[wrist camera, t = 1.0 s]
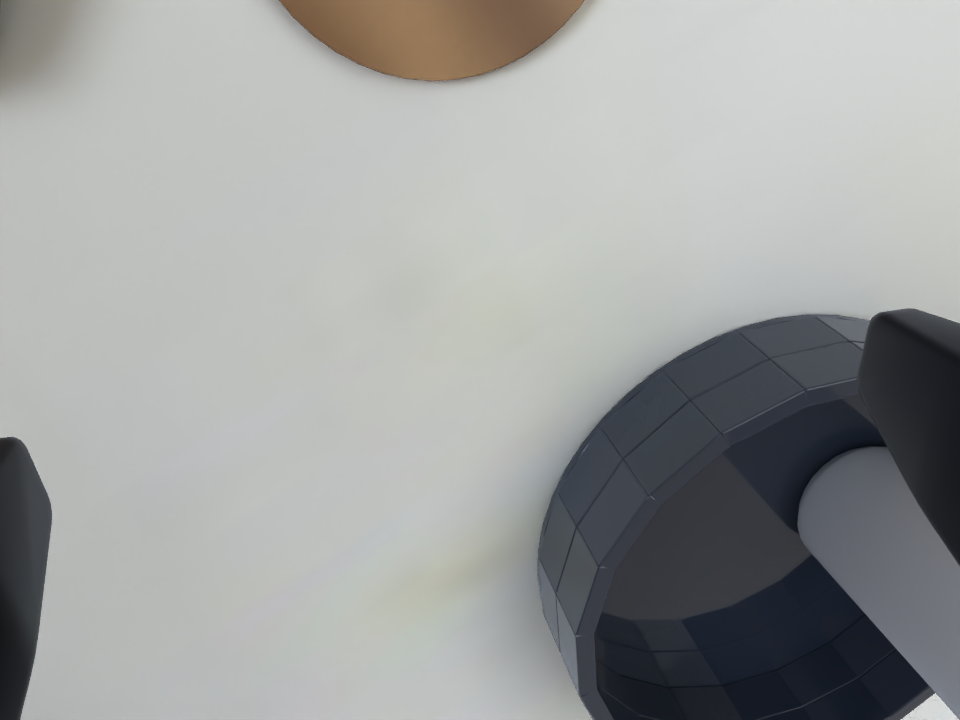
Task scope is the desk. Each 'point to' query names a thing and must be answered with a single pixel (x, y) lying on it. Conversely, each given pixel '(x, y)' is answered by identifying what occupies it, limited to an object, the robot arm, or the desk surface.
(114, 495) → the desk surface
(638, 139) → the desk surface
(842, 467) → the beverage can
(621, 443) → the pan
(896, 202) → the desk surface
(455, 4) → the coaster
